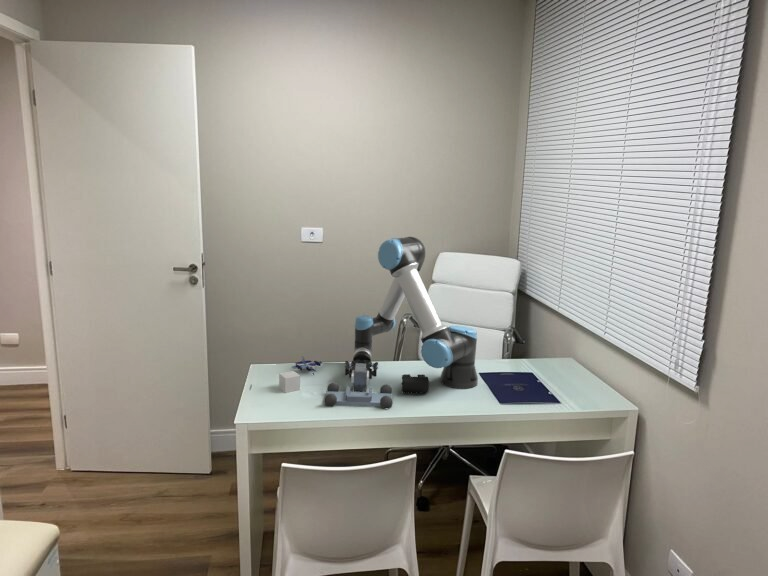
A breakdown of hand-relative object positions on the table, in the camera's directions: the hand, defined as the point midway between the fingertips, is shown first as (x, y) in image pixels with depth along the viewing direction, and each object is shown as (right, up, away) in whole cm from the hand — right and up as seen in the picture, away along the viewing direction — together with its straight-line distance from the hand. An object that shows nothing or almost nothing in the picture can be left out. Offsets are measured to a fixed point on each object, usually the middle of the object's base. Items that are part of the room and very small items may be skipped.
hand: (359, 379), depth 217 cm
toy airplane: (-22, -1, +23) cm, 32 cm away
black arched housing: (+21, -6, +6) cm, 22 cm away
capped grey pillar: (0, -5, +6) cm, 8 cm away
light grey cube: (-27, -4, +4) cm, 28 cm away
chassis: (0, -7, -4) cm, 8 cm away
